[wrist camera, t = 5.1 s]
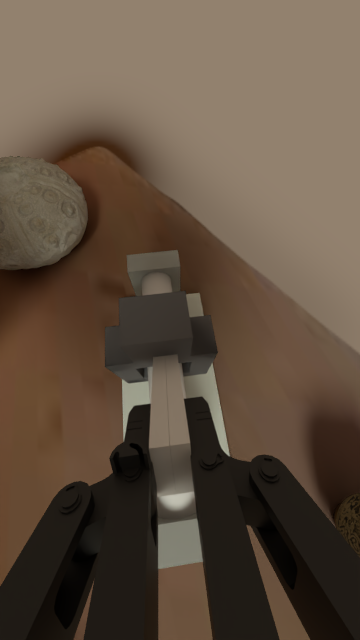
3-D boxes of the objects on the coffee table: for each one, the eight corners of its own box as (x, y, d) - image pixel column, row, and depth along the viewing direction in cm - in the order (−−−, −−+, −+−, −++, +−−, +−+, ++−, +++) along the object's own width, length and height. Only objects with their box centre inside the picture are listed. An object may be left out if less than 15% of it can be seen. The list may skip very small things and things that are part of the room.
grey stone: (76, 291, 34) (36, 243, 24) (-37, 276, 35) (-115, 224, 26) (109, 205, 41) (88, 143, 32) (14, 195, 42) (-32, 132, 33)
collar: (206, 373, 24) (228, 333, 13) (128, 383, 23) (82, 350, 12) (201, 345, 25) (217, 287, 14) (127, 355, 25) (84, 301, 14)
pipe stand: (236, 500, 24) (277, 560, 13) (128, 517, 23) (87, 593, 13) (198, 297, 33) (206, 242, 23) (122, 305, 33) (96, 254, 22)
